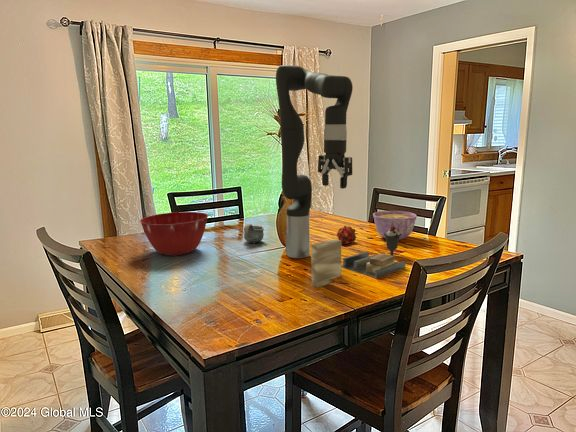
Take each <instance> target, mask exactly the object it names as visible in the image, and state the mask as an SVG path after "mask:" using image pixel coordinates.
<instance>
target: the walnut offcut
mask: <svg viewBox="0 0 576 432" xmlns="http://www.w3.org/2000/svg"><path fill="white" fill-rule="evenodd" d="M375 255H376V254H375ZM394 260H395V255H394V256H392V255H390V254H386V253H379V254H378V255H376V256H374V257H372V258H370V264H372V265H377V266H381V267H383V266H385V265H387V264H389V263H391V262H393V261H394Z"/></svg>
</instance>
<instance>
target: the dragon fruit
mask: <svg viewBox="0 0 576 432" xmlns="http://www.w3.org/2000/svg"><path fill="white" fill-rule="evenodd" d="M336 238H337V240H341V246H343V245H347V244H350V245H351V244H352V243H354V242H355V241H356V240H357V234H356V229H355V228H353V227H352V226H350V225H349V226H347V225H344V226H343V227H340V228H339V229H338V231H337V233H336Z"/></svg>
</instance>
